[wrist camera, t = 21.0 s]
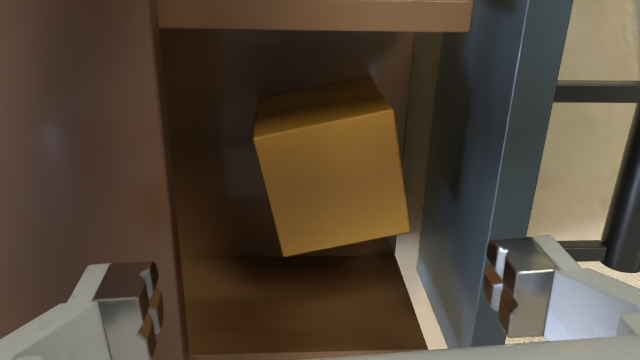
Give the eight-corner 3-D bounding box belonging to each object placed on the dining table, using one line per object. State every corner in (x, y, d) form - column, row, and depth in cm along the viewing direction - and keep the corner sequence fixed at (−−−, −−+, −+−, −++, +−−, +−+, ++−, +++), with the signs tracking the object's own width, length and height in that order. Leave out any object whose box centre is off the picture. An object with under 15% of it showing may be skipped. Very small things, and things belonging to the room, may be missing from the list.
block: (388, 179, 23) (411, 232, 19) (282, 200, 23) (282, 258, 19) (372, 74, 21) (393, 108, 17) (257, 98, 21) (251, 138, 17)
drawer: (638, -37, 21) (806, -22, 14) (565, 267, 26) (662, 380, 20) (106, -49, 19) (15, -39, 13) (146, 274, 25) (97, 398, 18)
